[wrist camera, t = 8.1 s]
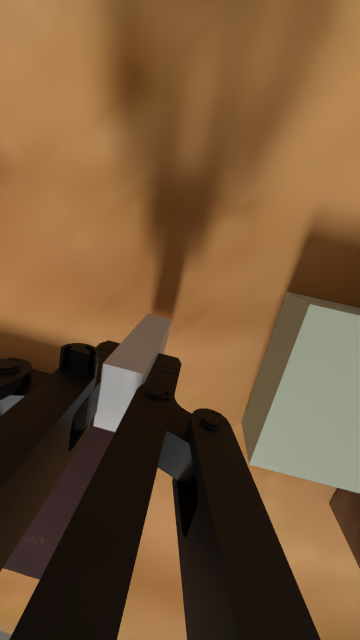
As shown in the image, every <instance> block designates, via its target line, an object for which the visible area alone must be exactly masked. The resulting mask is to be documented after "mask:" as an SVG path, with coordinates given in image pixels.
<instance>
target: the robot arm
mask: <svg viewBox="0 0 360 640" xmlns="http://www.w3.org/2000/svg"><path fill="white" fill-rule="evenodd" d="M171 322H172V320H171V319H167V318H163V317H159V316H155V315H151V314H147V315H146V316H145V317H144V318H143V319H142V320H141V322H140V323H139V324H138V325H137V326H136V327H135V328H134V329H133V330H132V332H131V333H130V334H129V335H128V336H127V337H126V338H125V339H124V340H123V342H122V343H121V344H120V343H116V342H112V341H106V342H103V343H100V344H99V345H98V346H97V347H96V348H95V347H94V346H91V345H88V344H83V343H72V344H66V345H64V346H62V347H61V353H60V364H59V368H58V369H57V370H56V371H55V372H53V373H52V374H42V373H32V366H31V363H29V362H28V361H26V360H23V359H18V358H6V359H0V571H1V570H2V568H3V566H4V565H5V563H6V562H7V560H8V559H9V557H10V555H11V554H12V552H13V551H14V549H15V548H16V546H17V545H18V543H19V541H20V540H21V538H22V537H23V535H24V534H25V532H26V530H27V529H28V527H29V526H30V524H31V523H32V521H33V519H34V518H35V516H36V515H37V513H38V512H39V510H40V508H41V507H42V505H43V504H44V502H45V501H46V499H47V497H48V496H49V494H50V493H51V491H52V490H53V488H54V487H55V485H56V483H57V482H58V480H59V479H60V477H61V476H62V474H63V472H64V471H65V469H66V468H67V466H68V465H69V463H70V461H71V460H72V458H73V457H74V455H75V454H76V452H77V450H78V449H79V447H80V446H81V444H82V443H83V441H84V439H85V438H86V436H87V433H88V430H89V423H90V422H91V420H92V419H93V417H94V416H95V418H94V425H93V426H95V427H99V428H102V429H106V430H109V431H113V432H115V433H114V435H113V437H112V439H111V441H110V443H109V445H108V447H107V449H106V451H105V453H104V455H103V457H102V459H101V461H100V463H99V465H98V467H97V469H96V471H95V472H94V474H93V476H92V478H91V480H90V482H89V484H88V486H87V488H86V490H85V492H84V494H83V496H82V498H81V500H80V502H79V504H78V506H77V508H76V510H75V512H74V514H73V516H72V518H71V520H70V522H69V524H68V526H67V528H66V530H65V531H64V533H63V535H62V537H61V539H60V541H59V543H58V545H57V547H56V549H55V551H54V553H53V555H52V557H51V559H50V561H49V563H48V565H47V567H46V569H45V571H44V573H43V575H42V577H41V579H40V581H39V583H38V585H37V587H36V589H35V590H34V592H33V594H32V596H31V598H30V600H29V602H28V604H27V606H26V608H25V610H24V612H23V614H22V616H21V618H20V620H19V622H18V624H17V626H16V628H15V630H14V632H13V634H12V636H11V638H10V640H117V636H118V632H119V628H120V624H121V619H122V615H123V611H124V607H125V603H126V598H127V594H128V590H129V586H130V581H131V577H132V573H133V569H134V565H135V560H136V556H137V552H138V548H139V543H140V539H141V535H142V531H143V527H144V522H145V518H146V514H147V510H148V505H149V501H150V497H151V493H152V489H153V484H154V480H155V476H156V472H157V467H158V468H160V469H161V470H163V471H164V472H166V473H167V474H169V475H170V476H172V477H173V480H172V484H173V495H174V505H175V516H176V526H177V537H178V548H179V558H180V569H181V579H182V590H183V601H184V611H185V622H186V633H187V640H320V637H319V635H318V633H317V630H316V628H315V625H314V623H313V621H312V618H311V616H310V614H309V611H308V609H307V606H306V604H305V602H304V599H303V597H302V594H301V592H300V590H299V587H298V585H297V583H296V580H295V578H294V575H293V573H292V571H291V568H290V566H289V563H288V561H287V559H286V556H285V554H284V552H283V549H282V547H281V544H280V542H279V540H278V537H277V535H276V532H275V530H274V528H273V525H272V523H271V521H270V518H269V516H268V513H267V511H266V509H265V506H264V504H263V501H262V499H261V497H260V494H259V492H258V490H257V487H256V485H255V482H254V480H253V478H252V475H251V473H250V471H249V468H248V466H247V463H246V461H245V459H244V456H243V454H242V451H241V449H240V447H239V444H238V442H237V440H236V437H235V435H234V432H233V430H232V428H231V425H230V423H229V422H228V420H227V419H226V418H225V417H224V416H223V415H221V414H220V413H218V412H216V411H214V410H210V409H197V410H195V411H194V412H193V413H190V412H188V411H186V410H185V409H183V408H182V407H181V406H179V405H178V403H177V402H176V400H175V397H174V395H175V390H176V385H177V381H178V377H179V373H180V368H181V362H180V360H179V358H176V357H172V356H168V355H164V351H165V347H166V343H167V339H168V334H169V330H170V326H171Z"/></svg>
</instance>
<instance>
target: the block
mask: <svg viewBox="0 0 360 640" xmlns="http://www.w3.org/2000/svg"><path fill="white" fill-rule="evenodd" d="M242 428H243V434H244V439H245V445H246V450H247V455H248V461H249V464H250V465H253V466H257V467H261V468H265V469H269V470H272V471H276V472H280V473H284V474H288V475H291V476H295V477H299V478H303V479H306V480H310V481H314V482H318V483H322V484H325V485H329V486H333V487H337V488H341V489H344V490H348V491H352V492H356V493H360V308H357V307H353V306H349V305H344V304H340V303H335V302H331V301H327V300H322V299H318V298H313V297H309V296H305V295H300V294H296V293H291V292H287V293H286V295H285V298H284V301H283V304H282V307H281V310H280V313H279V316H278V319H277V322H276V324H275V327H274V330H273V333H272V336H271V339H270V342H269V345H268V348H267V351H266V354H265V356H264V359H263V362H262V365H261V368H260V371H259V374H258V377H257V380H256V383H255V385H254V388H253V391H252V394H251V397H250V400H249V403H248V406H247V409H246V412H245V415H244V417H243V420H242Z"/></svg>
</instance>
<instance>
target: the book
mask: <svg viewBox="0 0 360 640" xmlns="http://www.w3.org/2000/svg"><path fill="white" fill-rule="evenodd" d="M32 373H42V374H48V373H43V372H39V371H35V370H32ZM94 418H95V416H94V417H93V419H92V420H91V422H90V423H89V430H88V433H87V436H86V438H85V439H84V441H83V443H82V444H81V446H80V447H79V449H78V450H77V452H76V454H75V455H74V457H73V458H72V460H71V461H70V463H69V465H68V466H67V468H66V469H65V471H64V472H63V474H62V476H61V477H60V479H59V480H58V482H57V483H56V485H55V487H54V488H53V490H52V491H51V493H50V494H49V496H48V497H47V499H46V501H45V502H44V504H43V505H42V507H41V508H40V510H39V512H38V513H37V515H36V516H35V518H34V519H33V521H32V523H31V524H30V526H29V527H28V529H27V530H26V532H25V534H24V535H23V537H22V538H21V540H20V541H19V543H18V545H17V546H16V548H15V549H14V551H13V552H12V554H11V555H10V557H9V559H8V560H7V562H6V563H5V565H4V566H3V568H4V569H8V570H11V571H15V572H18V573H20V574H23V575H26V576H29V577H33V578H37V579H41V577H42V575H43V573H44V571H45V569H46V567H47V565H48V563H49V561H50V559H51V557H52V555H53V553H54V551H55V549H56V547H57V545H58V543H59V541H60V539H61V537H62V535H63V533H64V531H65V530H66V528H67V526H68V524H69V522H70V520H71V518H72V516H73V514H74V512H75V510H76V508H77V506H78V504H79V502H80V500H81V498H82V496H83V494H84V492H85V490H86V488H87V486H88V484H89V482H90V480H91V478H92V476H93V474H94V472H95V471H96V469H97V467H98V465H99V463H100V461H101V459H102V457H103V455H104V453H105V451H106V449H107V447H108V445H109V443H110V441H111V439H112V437H113V435H114V433H115V432H113V431H109V430H106V429H102V428H99V427H95V426H93V425H94Z"/></svg>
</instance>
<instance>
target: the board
mask: <svg viewBox="0 0 360 640" xmlns="http://www.w3.org/2000/svg"><path fill="white" fill-rule="evenodd" d="M329 504H330V507H331V509H332V511H333V513H334V515H335V517H336V519H337V521H338V523H339V526H340V528H341V530H342V532H343V534H344V536H345V538H346V540H347V542H348V545H349V547H350V549H351V551H352V553H353V555H354V557H355V559H356V561H357V564H358V566H359V568H360V493H356V492H352V491H348V490H344V489H341V488H338V489H337V491H336V493H335V494H334V496H333V498H332V500H331V501H330V503H329Z"/></svg>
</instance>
